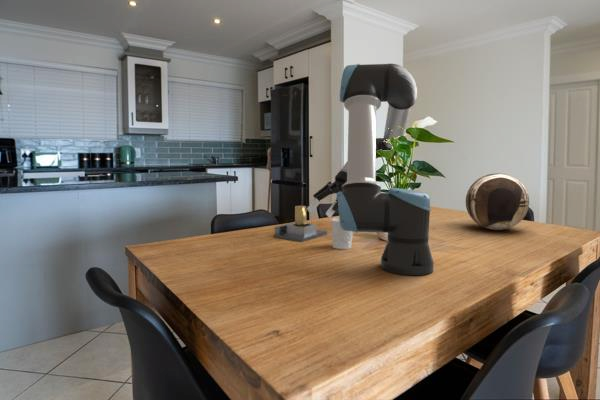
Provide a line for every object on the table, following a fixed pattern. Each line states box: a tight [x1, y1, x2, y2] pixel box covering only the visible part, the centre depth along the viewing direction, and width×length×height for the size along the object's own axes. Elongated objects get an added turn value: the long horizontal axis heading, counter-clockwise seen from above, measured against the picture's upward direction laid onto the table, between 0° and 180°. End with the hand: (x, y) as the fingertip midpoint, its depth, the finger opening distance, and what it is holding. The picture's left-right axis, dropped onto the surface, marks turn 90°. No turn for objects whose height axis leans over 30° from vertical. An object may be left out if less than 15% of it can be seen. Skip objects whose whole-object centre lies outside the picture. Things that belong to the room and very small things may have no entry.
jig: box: [273, 221, 328, 243], centre depth 159 cm, size 18×14×5 cm
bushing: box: [294, 205, 308, 227], centre depth 157 cm, size 5×5×11 cm
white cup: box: [330, 217, 354, 250], centre depth 140 cm, size 8×8×10 cm
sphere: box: [465, 172, 530, 231], centre depth 173 cm, size 25×25×25 cm
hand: (317, 213), depth 162 cm, fingers open, 13 cm apart
